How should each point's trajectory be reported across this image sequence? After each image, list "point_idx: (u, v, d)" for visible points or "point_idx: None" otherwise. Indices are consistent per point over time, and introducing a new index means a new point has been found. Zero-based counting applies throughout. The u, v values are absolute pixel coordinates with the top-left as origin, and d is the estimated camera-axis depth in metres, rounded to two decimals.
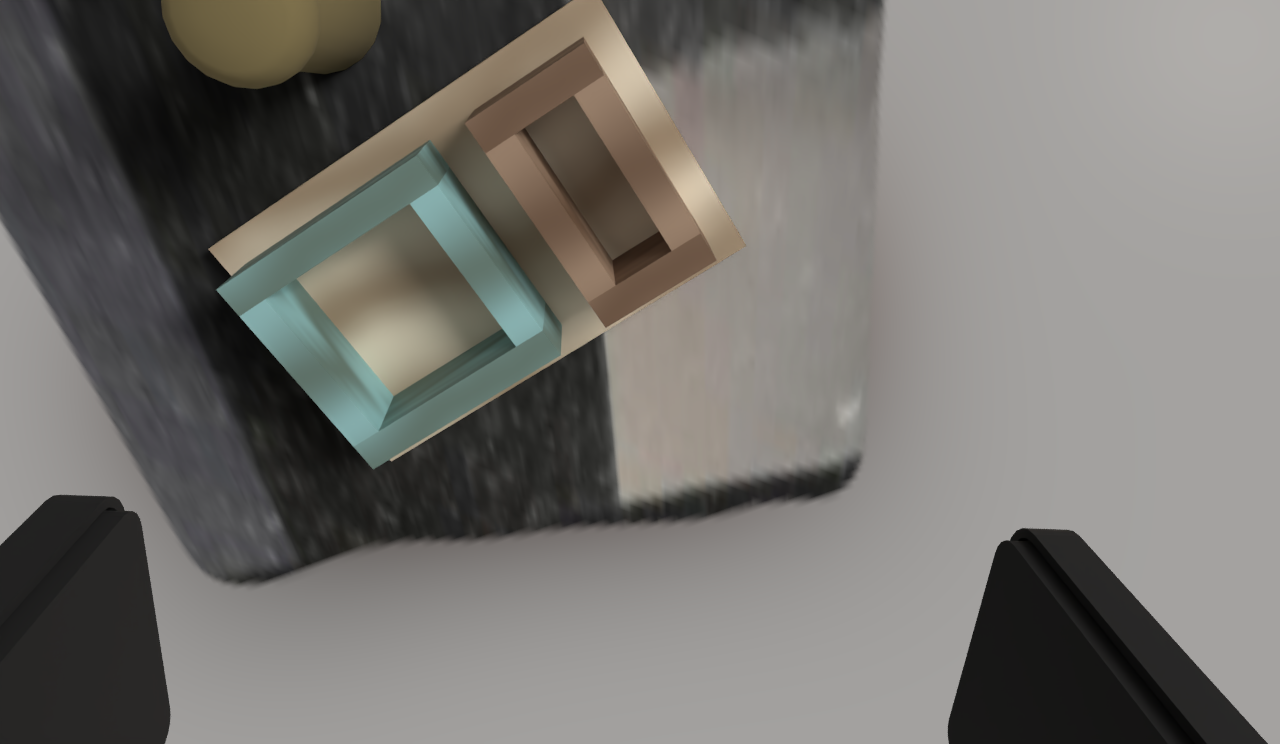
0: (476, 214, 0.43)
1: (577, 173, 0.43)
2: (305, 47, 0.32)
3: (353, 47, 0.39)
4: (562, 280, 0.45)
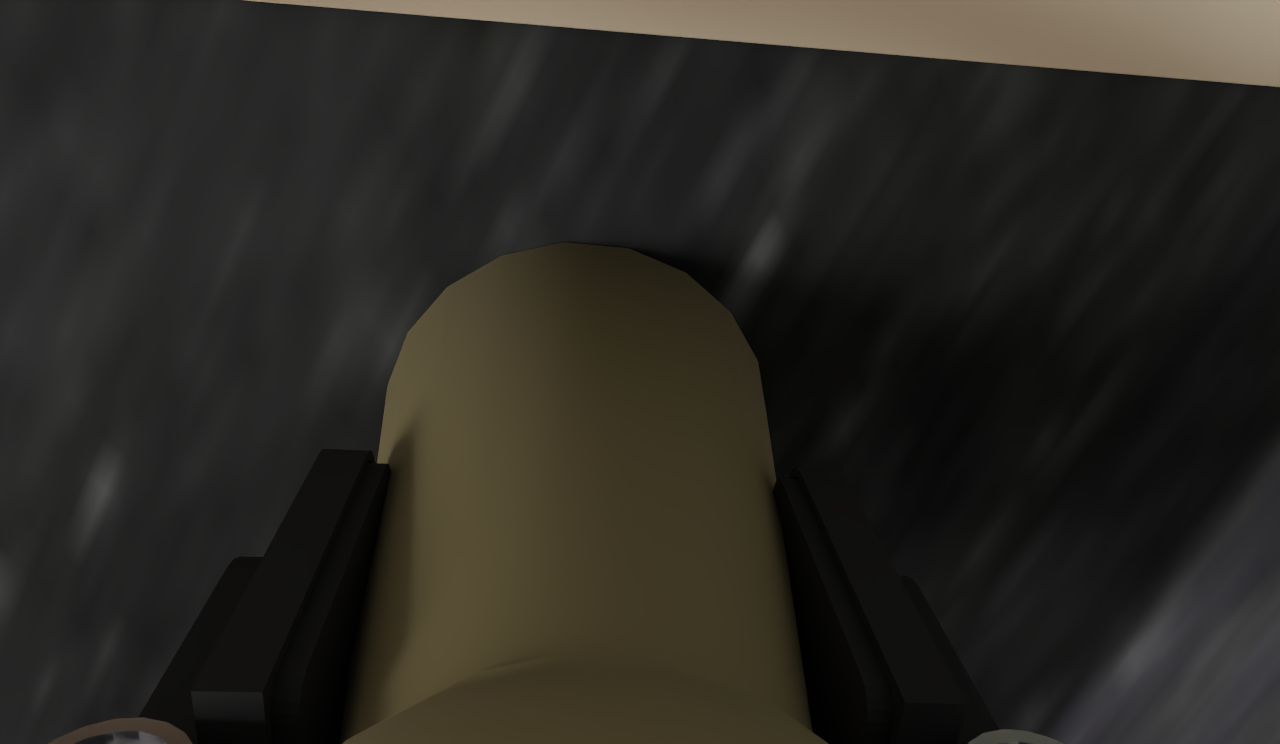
0: None
1: None
2: None
3: (518, 323, 0.11)
4: None
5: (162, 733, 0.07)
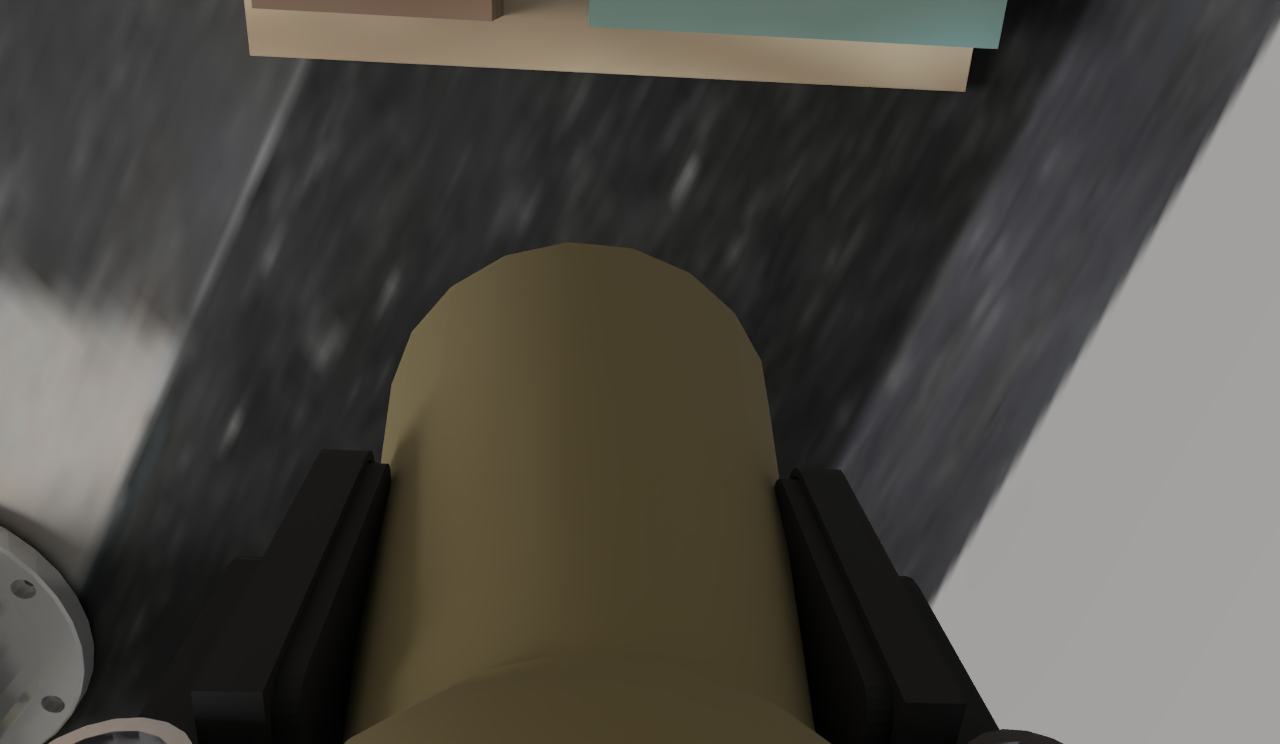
0: None
1: None
2: None
3: (522, 323, 0.11)
4: None
5: (162, 733, 0.07)
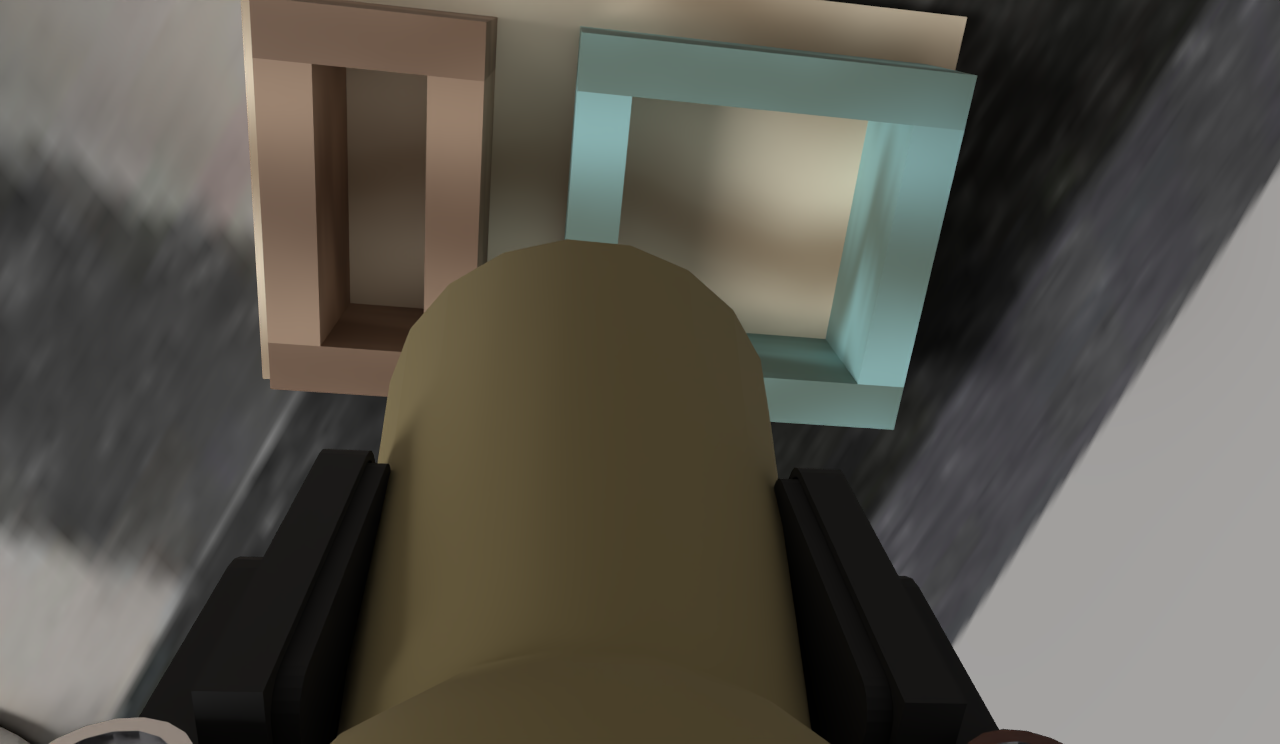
0: None
1: (415, 207, 0.30)
2: None
3: (520, 320, 0.11)
4: (532, 87, 0.28)
5: (163, 733, 0.07)
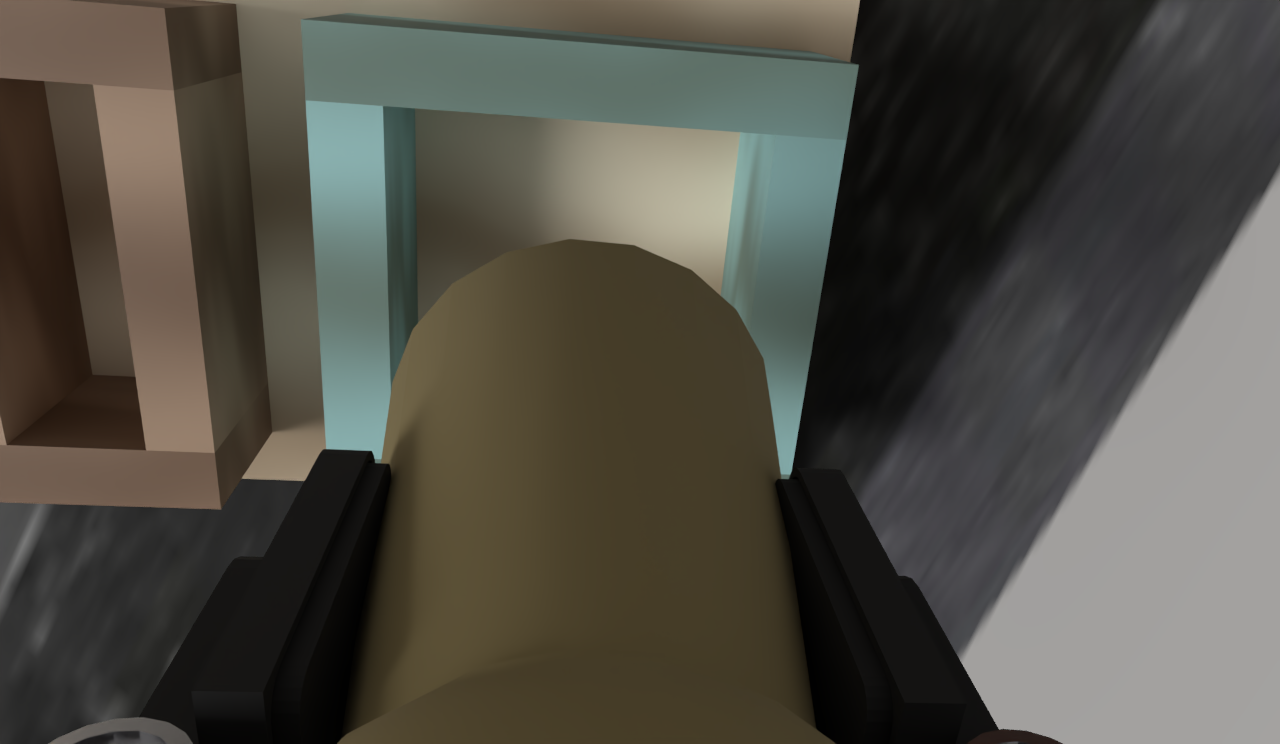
0: None
1: None
2: None
3: (523, 320, 0.11)
4: (293, 95, 0.22)
5: (162, 733, 0.07)
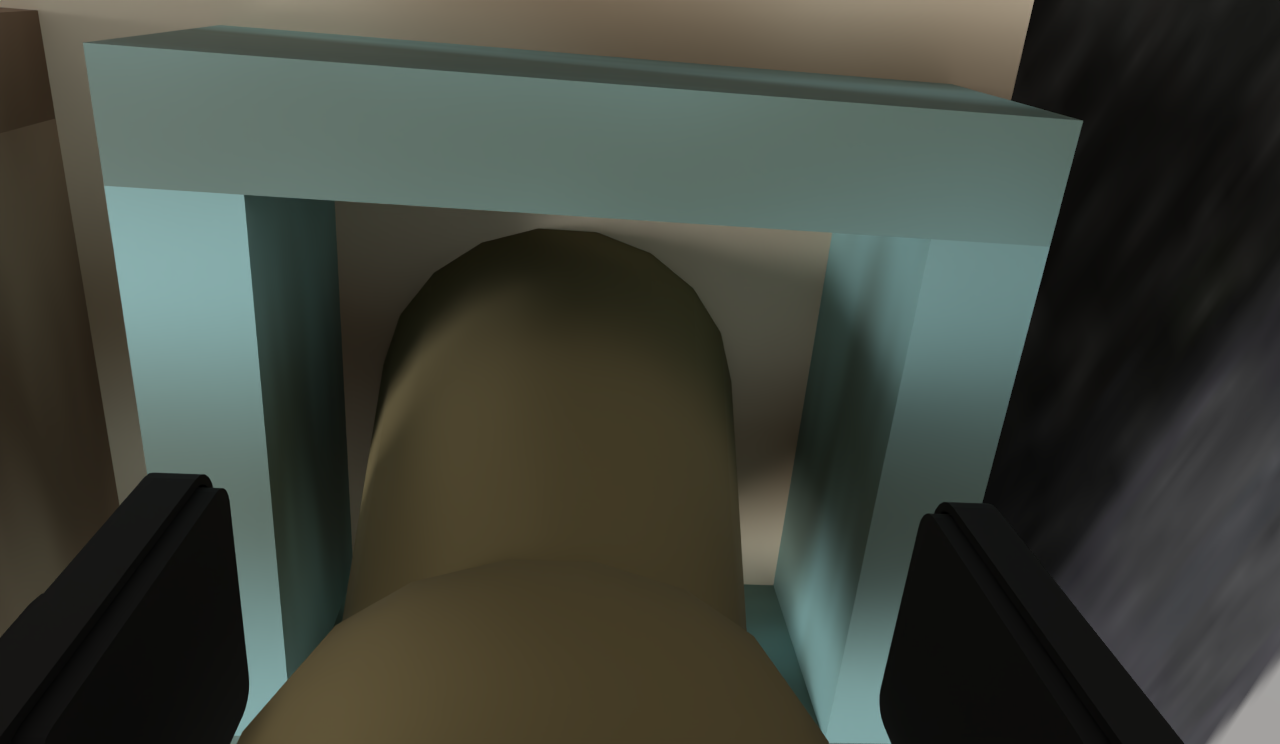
0: None
1: None
2: None
3: (494, 300, 0.13)
4: None
5: None
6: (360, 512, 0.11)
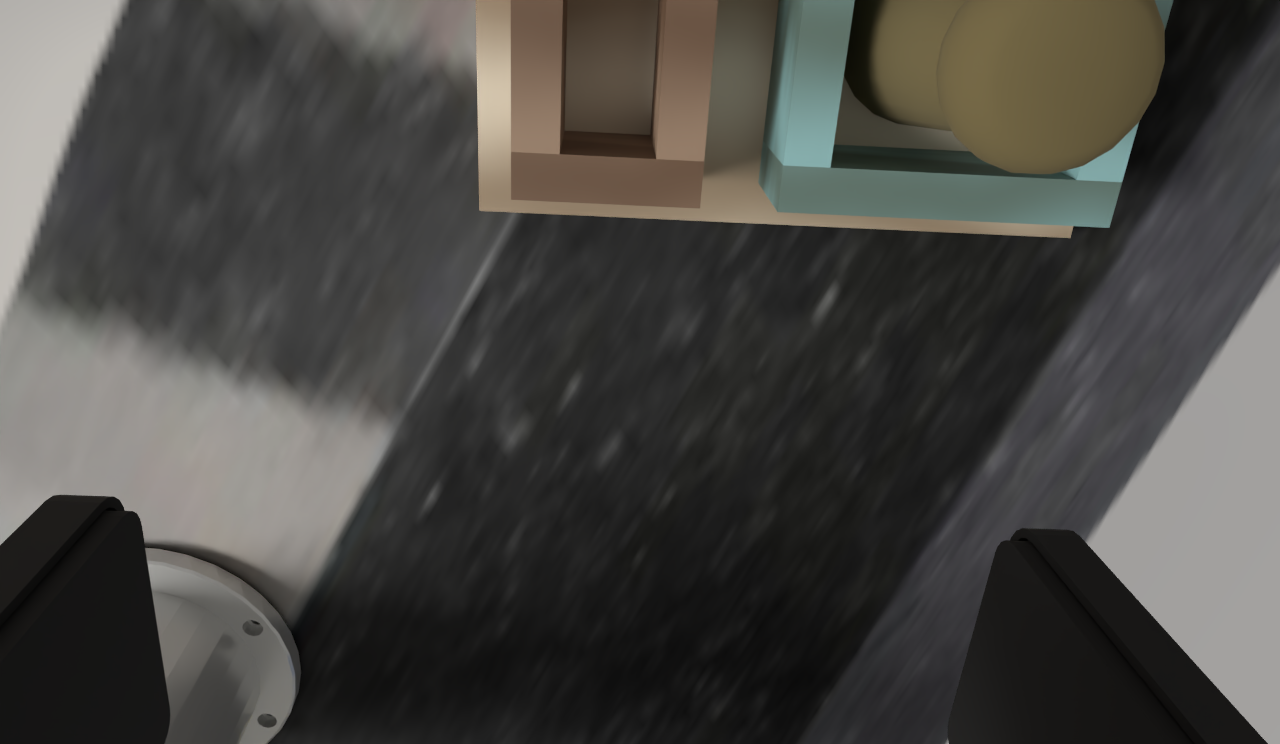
0: (776, 76, 0.30)
1: (629, 28, 0.30)
2: None
3: None
4: None
5: None
6: (901, 26, 0.26)
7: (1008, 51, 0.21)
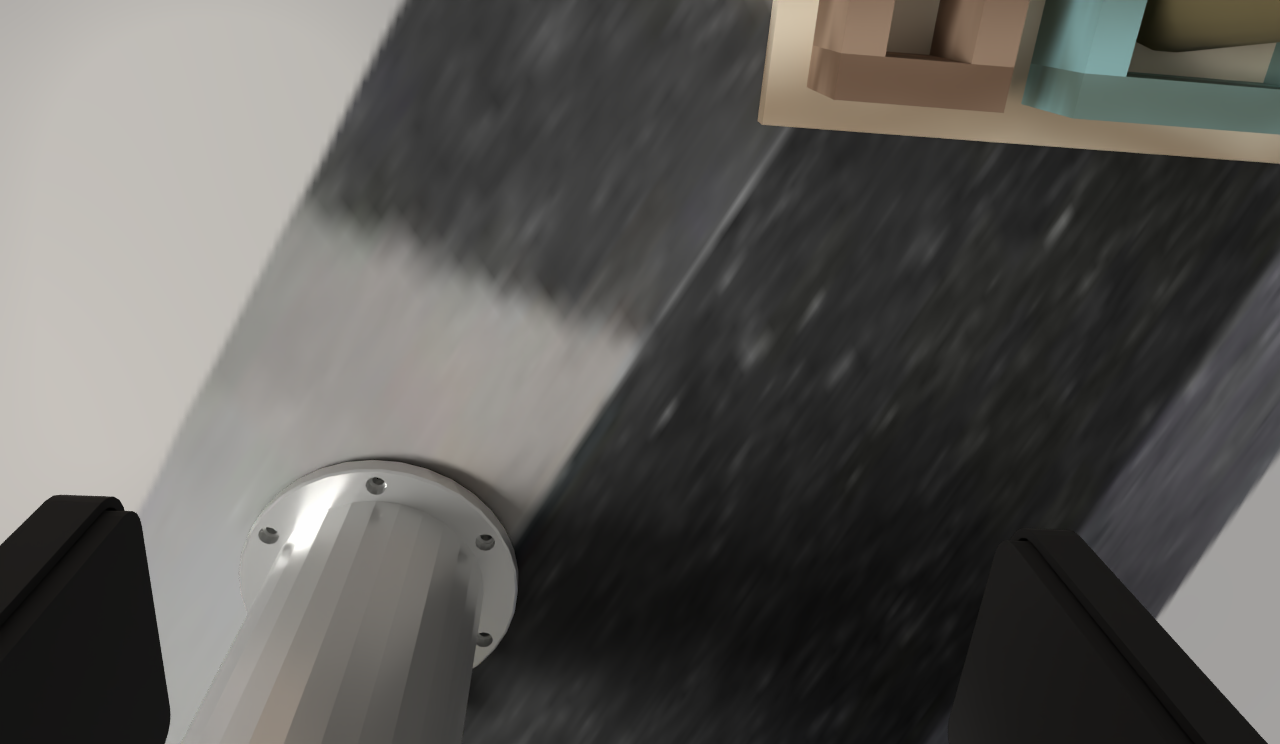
0: None
1: None
2: None
3: None
4: None
5: None
6: None
7: None
